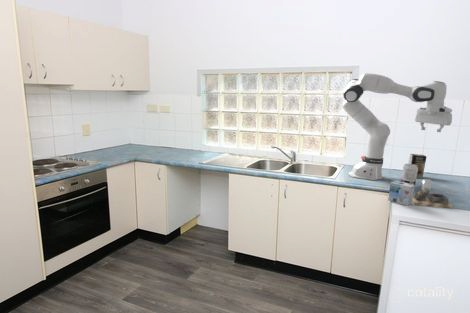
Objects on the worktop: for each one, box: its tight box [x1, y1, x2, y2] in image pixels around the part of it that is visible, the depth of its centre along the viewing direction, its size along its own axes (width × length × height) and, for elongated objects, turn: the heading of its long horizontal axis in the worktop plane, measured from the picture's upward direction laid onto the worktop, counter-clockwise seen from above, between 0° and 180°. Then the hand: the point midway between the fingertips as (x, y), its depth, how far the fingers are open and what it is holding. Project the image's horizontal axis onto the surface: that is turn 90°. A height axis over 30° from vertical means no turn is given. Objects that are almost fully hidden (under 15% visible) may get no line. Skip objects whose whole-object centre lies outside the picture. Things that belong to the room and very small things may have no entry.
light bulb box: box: [387, 179, 416, 207], centre depth 176 cm, size 11×7×11 cm, turn 45°
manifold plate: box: [412, 190, 453, 209], centre depth 176 cm, size 18×12×6 cm, turn 80°
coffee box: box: [407, 153, 427, 179], centre depth 228 cm, size 9×6×16 cm
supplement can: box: [400, 163, 418, 189], centre depth 201 cm, size 8×8×15 cm
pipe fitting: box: [420, 178, 432, 196], centre depth 187 cm, size 4×4×10 cm
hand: (430, 131), depth 197 cm, fingers open, 8 cm apart
